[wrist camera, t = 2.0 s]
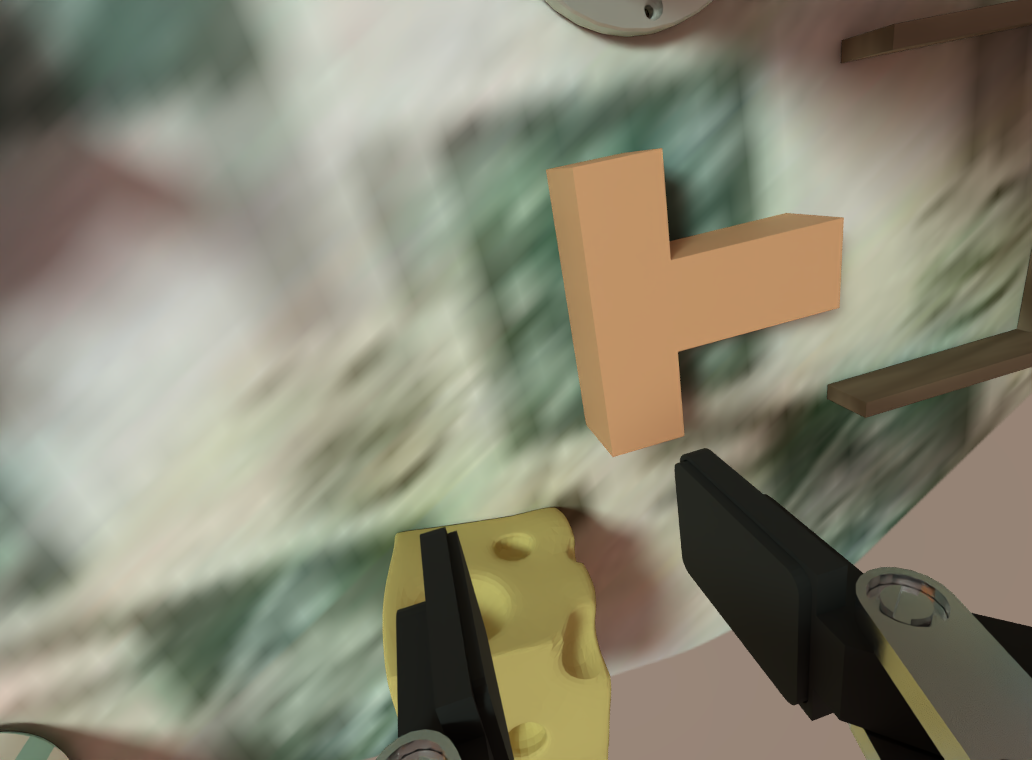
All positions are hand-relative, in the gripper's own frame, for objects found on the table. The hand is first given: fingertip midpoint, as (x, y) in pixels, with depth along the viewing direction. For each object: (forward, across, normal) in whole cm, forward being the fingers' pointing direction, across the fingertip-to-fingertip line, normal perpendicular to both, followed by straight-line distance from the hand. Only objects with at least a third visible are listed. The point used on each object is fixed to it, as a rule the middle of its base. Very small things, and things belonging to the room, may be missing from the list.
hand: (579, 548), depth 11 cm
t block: (+17, -12, 0) cm, 21 cm away
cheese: (+18, +3, +16) cm, 24 cm away
